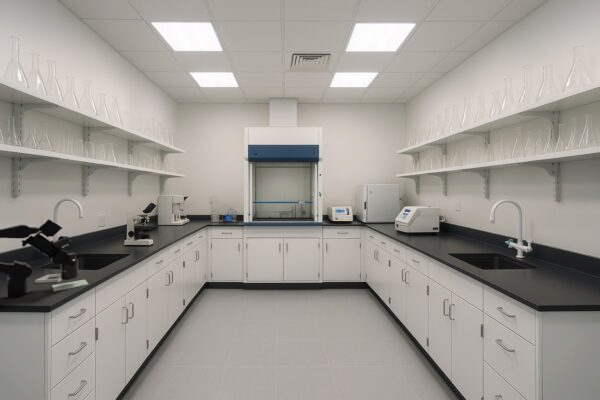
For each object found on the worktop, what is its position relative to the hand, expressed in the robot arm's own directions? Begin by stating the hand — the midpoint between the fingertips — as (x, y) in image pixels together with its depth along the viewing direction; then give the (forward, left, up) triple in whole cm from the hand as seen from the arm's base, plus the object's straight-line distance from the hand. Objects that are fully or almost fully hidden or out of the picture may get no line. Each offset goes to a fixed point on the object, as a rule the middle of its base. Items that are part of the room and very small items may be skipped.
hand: (72, 264), depth 142 cm
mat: (-1, +1, -10) cm, 10 cm away
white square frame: (+12, +16, -10) cm, 23 cm away
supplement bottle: (-1, +1, -7) cm, 7 cm away
